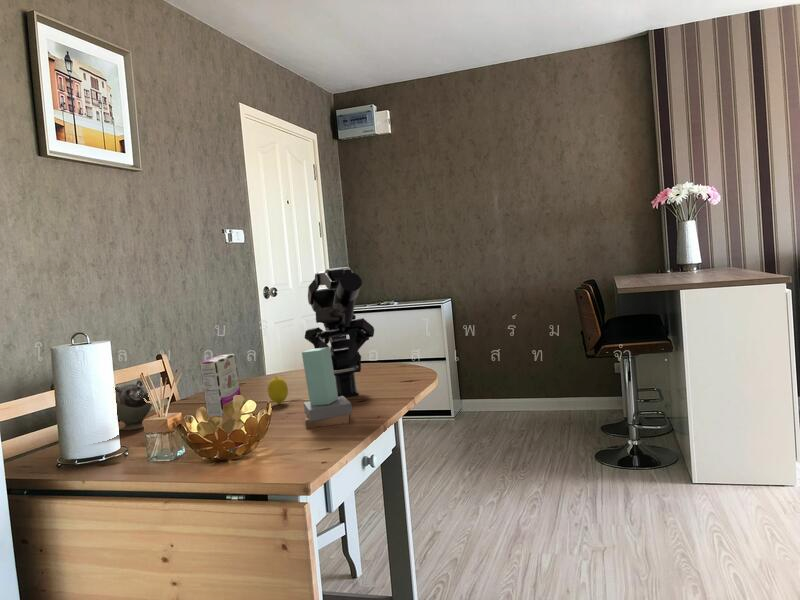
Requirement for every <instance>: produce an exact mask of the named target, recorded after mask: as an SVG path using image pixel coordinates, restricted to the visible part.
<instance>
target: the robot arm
mask: <svg viewBox="0 0 800 600" xmlns="http://www.w3.org/2000/svg"><path fill="white" fill-rule="evenodd" d="M362 281H363V280H362V278H361V277H360V276H359V275H358V274H356V273H355V272H354V271H353V270H352V268H350V267H349V266H345V267H344V266H343V267H334V268H327V269H326V270H325V271H318V272H316V273H314V279H313V280H312V282H311V283H310V284H309V285H308V289H307V302H308V304H309V305H310V306H311V309H312V310H313V312H314V313H315V323H317V324H318V323H321V324H323V327H324V330H323V329H322V328H320V326H317V327H313V328H308V329H307V330H305V333H304V337H303V338H304V339H305V340H307V341H308V342H309V343H311V345H313V347H314V349H316V348H324V347H330V352H331V358H332V364H333V370H334V376H335V382H336V388H337V394H338V397H339V396H344V397H345V398H346V397H352V396H358V395H359V388H357V384H356V376H355V373H361V371H362V355H361V354H360V352H359V350H360V349H361V347H363V345H364V344H365V343H366V341H369V340H370V338H373V337H374V335H375V328H374V326H373V325H372V324H370V322H369V321H367V320H366V319H365V318H363V317H362V318H358V319H356V317H357V316H356V315H355V314H354V312H355V303H356V299H357V297H358V296H359V293H360V291H361V287H362V284H363V282H362ZM320 286H325V287H321V288H320ZM346 336H348V337H349V338H347V339H346ZM329 344H330V345H329Z"/></svg>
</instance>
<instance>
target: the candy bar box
mask: <svg viewBox="0 0 800 600" xmlns="http://www.w3.org/2000/svg"><path fill="white" fill-rule="evenodd" d="M236 360H237V359H236V354H235V353H228V354H227V353H226V354H221V355H220V354H219V355H217V356H214V357H211V358H209V359H206V360H205V361H201V362H200V363H199V368H200V373H201V381H202V382H201V383H202V387H203V393H204V402H205V408H206V413H207V412H208V414H209V417H213V416H222V415H223V405H224V404H226V403H230V402H232V400H233V396H234V395H241V388H240V379H239V374H238V368H237V367H238V366H237V361H236Z"/></svg>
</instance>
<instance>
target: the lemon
mask: <svg viewBox="0 0 800 600" xmlns="http://www.w3.org/2000/svg"><path fill="white" fill-rule="evenodd" d="M267 394H268V397H269V398H270V400H271V401H272V402H274V403H276V404H278V405H281V404H282V403H283V402H284V401H285V400H286V399H287V398H288V395H289V388H288V384H287V382H286V381H285V380H284V378H282V377H279V376H277V375H276V376H274V378H272V379H271V380H270V381H269V382H268V385H267Z"/></svg>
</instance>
